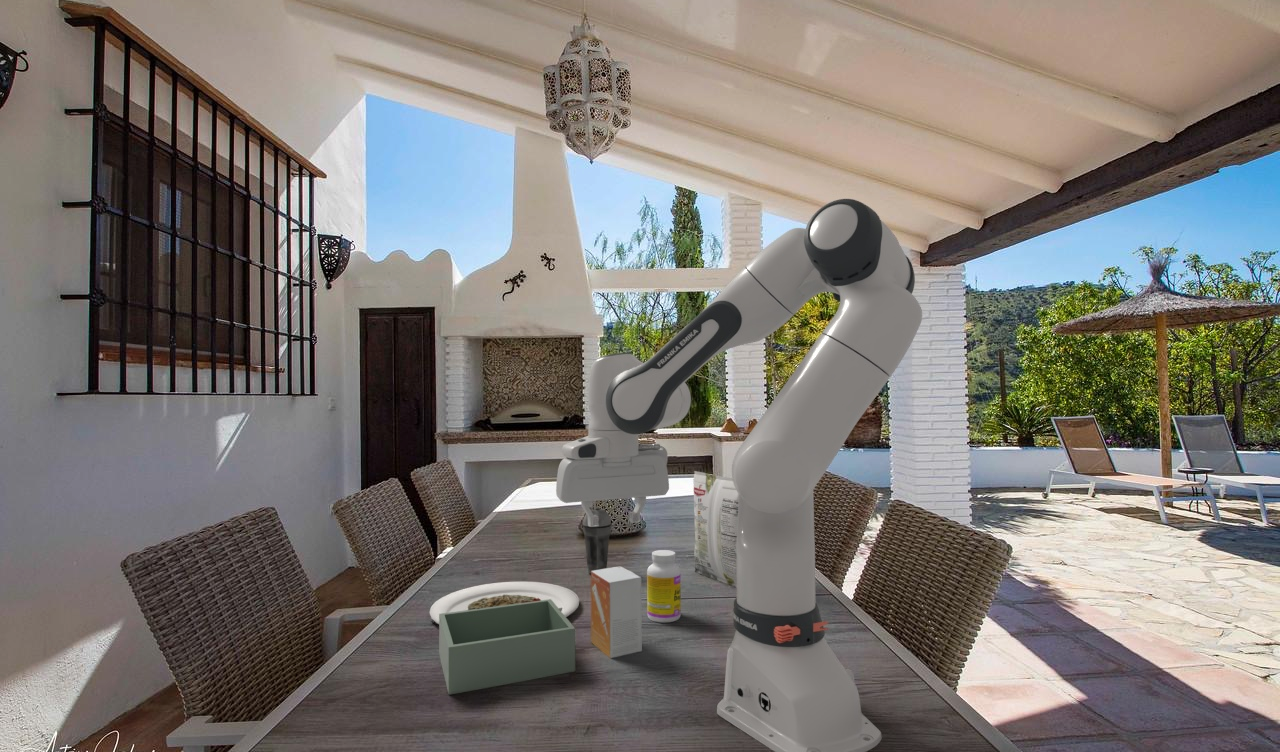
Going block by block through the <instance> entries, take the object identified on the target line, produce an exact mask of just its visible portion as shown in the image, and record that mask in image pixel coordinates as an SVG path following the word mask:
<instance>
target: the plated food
mask: <svg viewBox="0 0 1280 752" xmlns="http://www.w3.org/2000/svg"><path fill="white" fill-rule="evenodd" d="M548 599H551V600H552V601H553V602H554V604H555V605H556V606H557V607H558V608H559V609H561V610H560V611H561V612H562V613H563V614H564V616H565V617H566V618H567V617H569V616H570V615H572V614H573V613H574V612H575V611H576V610H577V609H578V607H579V604H580V598H579V596H578V595H577V594H576V593H575V592H574V591H573V590H571V589H569V588H567V587H565V586H561V585H558V584H552V583H547V582H541V581H540V582H539V581H504V582H503V581H501V582H494V583H485V584H480V585H475V586H471V587H470V586H469V587H466V588H463V589H460V590H456V591H453V592H451V593H449V594H447V595H444V596H442V597H440V598H439V599H437V600H436V601H435V602H433V604H432V605H431V607H430V609H429V617H430V618H431V620H432V621H433V622H435V624H438V625H439V614H442V613H450V612H457V611H465V610H473V609H480V608H488V607H495V606H503V605H510V604H518V603H526V602H533V601H541V600H548Z"/></svg>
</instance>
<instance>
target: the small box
mask: <svg viewBox="0 0 1280 752" xmlns="http://www.w3.org/2000/svg"><path fill="white" fill-rule="evenodd" d="M642 601H643V600H642V577H641V576H640V575H638V574H636V573H634V572H633V571H632V570H629V569H626V568H625V567H623V566H613V567H607V568H605V569H600V570H594V571H591V573H590V643H591V644H592V645H594V646H595V647H596V648H597V649H599V650H600V651H601V652H602V653H603V654H604V655H606V657H608V658H609V659H613V658H617V657H621V656H626V655H630V654H634V653H638V652H639V653H640V652H642V651H643V641H642V639H643V635H642V633H643V631H642V630H643V629H642V628H643V626H642V625H643V624H642V623H643V621H642V620H643V619H642V617H643V615H642V614H643V613H642V612H643V611H642V610H643V609H642Z"/></svg>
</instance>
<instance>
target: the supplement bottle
mask: <svg viewBox="0 0 1280 752" xmlns="http://www.w3.org/2000/svg"><path fill="white" fill-rule="evenodd" d="M651 560H652V563H651V564H650V565H649V566H648V568H647V570H646V583H647V584H646V587H647V588H646V591H647V593H646V596H647V598H646V600H647V603H646V605H647V606H646V613H647V618H648V619H649V620H650V621H652V622H656V623H662V624H663V623H665V624H666V623H672V622H676V621H678V620H679V619H680V618H681V616H682V615H681V614H682V613H681V611H682V609H681V608H682V603H681V602H682V601H681V599H682V598H681V590H682V589H681V588H682V587H681V568H680V567H679V566H678V564H676V563H675V561H676V552H675V551H673V550H670V549H669V550H668V549H658V550H654V551H652V552H651Z"/></svg>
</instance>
